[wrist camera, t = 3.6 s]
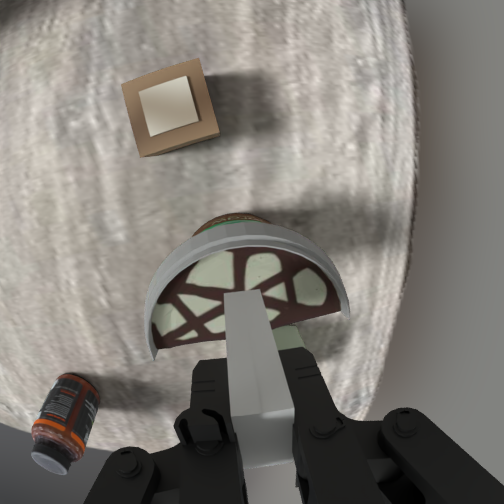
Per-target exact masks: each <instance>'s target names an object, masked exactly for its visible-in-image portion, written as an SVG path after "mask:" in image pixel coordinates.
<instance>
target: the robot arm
mask: <svg viewBox="0 0 504 504" xmlns="http://www.w3.org/2000/svg"><path fill="white" fill-rule="evenodd" d="M224 309H225V330H226V349H227V358H220V359H209V360H200V361H199V362H198V364H197V365H196V367H195V368H194V370H193V374H192V386H191V400H190V408H189V409H187V410H185V411H183V412H182V413H181V414H180V415H179V416H178V417H177V418H176V421H175V423H174V426H173V427H174V429H175V431H176V433H177V436H178V438H179V440H180V443H179V444H177V445H176V446H174V447H172V448H169V449H166V450H163V451H159V452H155V453H151V454H149V453H148V452H147V451H145V450H143V449H141V448H139V447H130V446H129V447H124V448H120V449H118V450H117V451H115V452H113V453H112V454H111V455H110V456H109V458H108V459H107V460H106V462H105V464H104V466H103V468H102V470H101V472H100V473H99V475H98V477H97V479H96V481H95V483H94V485H93V486H92V488H91V490H90V492H89V494H88V496H87V498H86V499H85V501H84V504H248V497H247V488H246V483H245V479H244V471H243V469H249V468H257V467H265V466H272V465H279V464H285V463H291V462H293V457H294V461H295V465H296V487H299V491H300V495H301V499H302V503H303V504H504V486H503V485H502V484H501V483H500V482H499V481H498V480H497V479H496V478H495V477H493V476H492V475H491V474H490V473H489V472H488V471H487V470H486V469H484V468H483V467H482V466H481V465H480V464H479V463H478V462H477V461H475V460H474V459H473V458H472V457H471V456H470V455H469V454H468V453H467V452H465V451H464V450H463V449H462V448H461V447H460V446H459V445H458V444H456V443H455V442H454V441H453V440H452V439H451V438H450V437H449V436H447V435H446V434H445V433H444V432H443V431H442V430H441V429H440V428H438V427H437V426H436V425H435V424H434V423H433V422H432V421H431V420H430V419H429V418H427V417H426V416H425V415H424V414H423V413H421V412H419V411H418V410H416V409H412V408H398V409H396V410H392V411H390V412H389V413H388V414H387V415H386V416H385V417H384V419H383V421H357V420H353V419H350V418H347V417H346V416H345V415H344V414H342V413H340V412H339V411H338V410H337V408H336V406H335V404H334V402H333V400H332V397H331V395H330V393H329V390H328V388H327V386H326V384H325V381H324V379H323V377H322V376H321V372H320V370H319V368H318V367H317V363H316V361H315V358H314V356H313V354H312V353H310V352H309V351H308V350H307V349H305V348H304V347H297V348H290V349H284V350H277V346H276V343H275V340H274V336H273V333H272V329H271V326H270V322H269V319H268V316H267V312H266V309H265V305H264V302H263V298H262V295H261V291H260V289H256V290H248V291H239V292H231V293H224Z"/></svg>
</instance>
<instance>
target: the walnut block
mask: <svg viewBox="0 0 504 504" xmlns="http://www.w3.org/2000/svg"><path fill="white" fill-rule="evenodd" d="M121 86H122V91H123V95H124V99H125V103H126V107H127V111H128V115H129V118H130V122H131V126H132V130H133V133H134V137H135V141H136V144H137V148H138V151H139V155H140V158H141V157H150V156H157V155H160V154H163V153H166V152H169V151H172V150H175V149H178V148H181V147H184V146H188V145H191V144H194V143H197V142H201V141H204V140H207V139H211V138H214V137H218V136H220V132H219V128H218V124H217V121H216V117H215V114H214V110H213V107H212V103H211V99H210V96H209V92H208V89H207V85H206V81H205V78H204V74H203V71H202V67H201V63H200V60H199V58H197V59H193V60H190V61H186V62H183V63H180V64H176V65H173V66H170V67H167V68H164V69H161V70H158V71H155V72H152V73H149V74H147V75H144V76H141V77H139V78H136V79H133V80H131V81H128V82H126V83H123V84H121Z"/></svg>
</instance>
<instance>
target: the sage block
mask: <svg viewBox="0 0 504 504" xmlns="http://www.w3.org/2000/svg"><path fill="white" fill-rule="evenodd" d="M272 333H273V336H274V340H275V343H276V346H277V350H284V349H290V348H297V347H304V348H305V345H304V343H303V341H302V338H301V336H300V334H299V331H298V329H297V327H296V326H287V325H285V326H282V327H279V328H276V329H273V330H272ZM305 349H306V348H305Z"/></svg>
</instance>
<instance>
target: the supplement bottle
mask: <svg viewBox="0 0 504 504" xmlns="http://www.w3.org/2000/svg"><path fill="white" fill-rule="evenodd" d="M99 403H100V398H99V395H98V393H97V391H96V390H95V389H94V387H93V386H92V385H90V384H89V383H88V382H87V381H85V380H84V379H82V378H80V377H78V376H74V375H70V374H64V375H61V376H59V377H58V378H57V379H56V381H55V382H54V384H53V386H52V388H51V390H50V392H49V394H48V396H47V397H46V399H45V401H44V403H43V405H42V408H41V409H40V411H39V414H38V416H37V418H36V420H35V422H34V424H33V426H32V430H31V433H32V437H33V439H34V441H35V445H34V448H33V450H32V453H31V455H32V457H33V459H34V460H35V461H36V462H37V463H38V464H39V465H40V466H42V467H43V468H45V469H47V470H49V471H51V472H53V473H56V474H60V475H66V474H67V473H68V470H69V467H70V466H71V464H70V463H71V462H76V461H78V460H80V459H81V458H82V456H83V453H84V450H85V447H86V444H87V441H88V438H89V434H90V431H91V428H92V425H93V422H94V419H95V416H96V413H97V410H98V407H99Z"/></svg>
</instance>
